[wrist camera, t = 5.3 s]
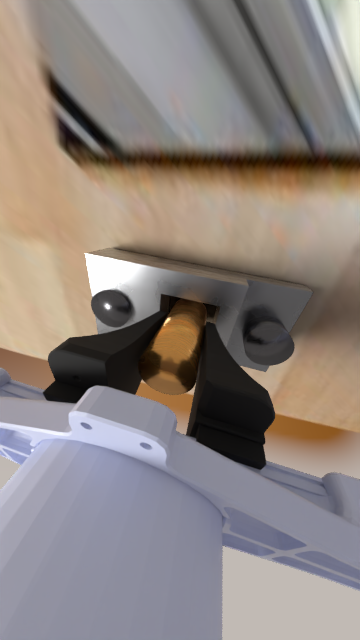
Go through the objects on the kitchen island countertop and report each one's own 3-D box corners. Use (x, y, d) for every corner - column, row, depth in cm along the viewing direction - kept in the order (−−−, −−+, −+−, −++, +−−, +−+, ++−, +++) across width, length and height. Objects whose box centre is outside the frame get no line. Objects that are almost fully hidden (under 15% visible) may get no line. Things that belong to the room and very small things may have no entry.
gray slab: (304, 285, 12) (329, 304, 10) (262, 360, 17) (270, 390, 14) (109, 247, 14) (80, 254, 11) (115, 324, 19) (95, 343, 16)
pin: (210, 301, 13) (202, 358, 7) (203, 332, 15) (190, 401, 9) (174, 293, 14) (138, 342, 8) (170, 324, 15) (137, 385, 9)
